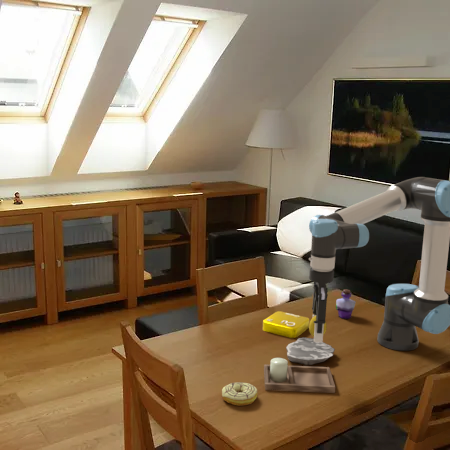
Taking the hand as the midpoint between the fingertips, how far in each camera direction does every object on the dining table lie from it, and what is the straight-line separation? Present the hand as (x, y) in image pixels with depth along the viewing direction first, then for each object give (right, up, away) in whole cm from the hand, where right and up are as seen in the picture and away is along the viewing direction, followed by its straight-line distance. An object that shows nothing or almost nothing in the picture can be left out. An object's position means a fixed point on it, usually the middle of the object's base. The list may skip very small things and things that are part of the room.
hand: (316, 337), depth 186 cm
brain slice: (+1, -11, +23) cm, 26 cm away
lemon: (0, -1, 0) cm, 1 cm away
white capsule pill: (-12, -14, +4) cm, 19 cm away
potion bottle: (+22, -3, +62) cm, 66 cm away
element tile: (-5, -6, +48) cm, 48 cm away
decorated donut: (-25, -17, -8) cm, 32 cm away
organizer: (-6, -15, +4) cm, 16 cm away
